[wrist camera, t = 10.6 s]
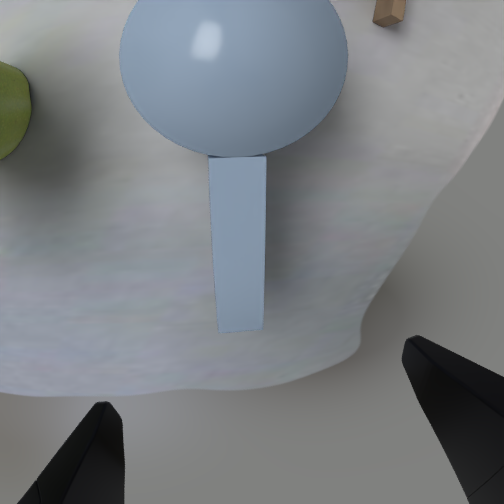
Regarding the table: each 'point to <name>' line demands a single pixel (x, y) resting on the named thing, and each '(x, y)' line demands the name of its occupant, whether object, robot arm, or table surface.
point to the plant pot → (13, 108)
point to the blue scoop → (234, 110)
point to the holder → (389, 12)
